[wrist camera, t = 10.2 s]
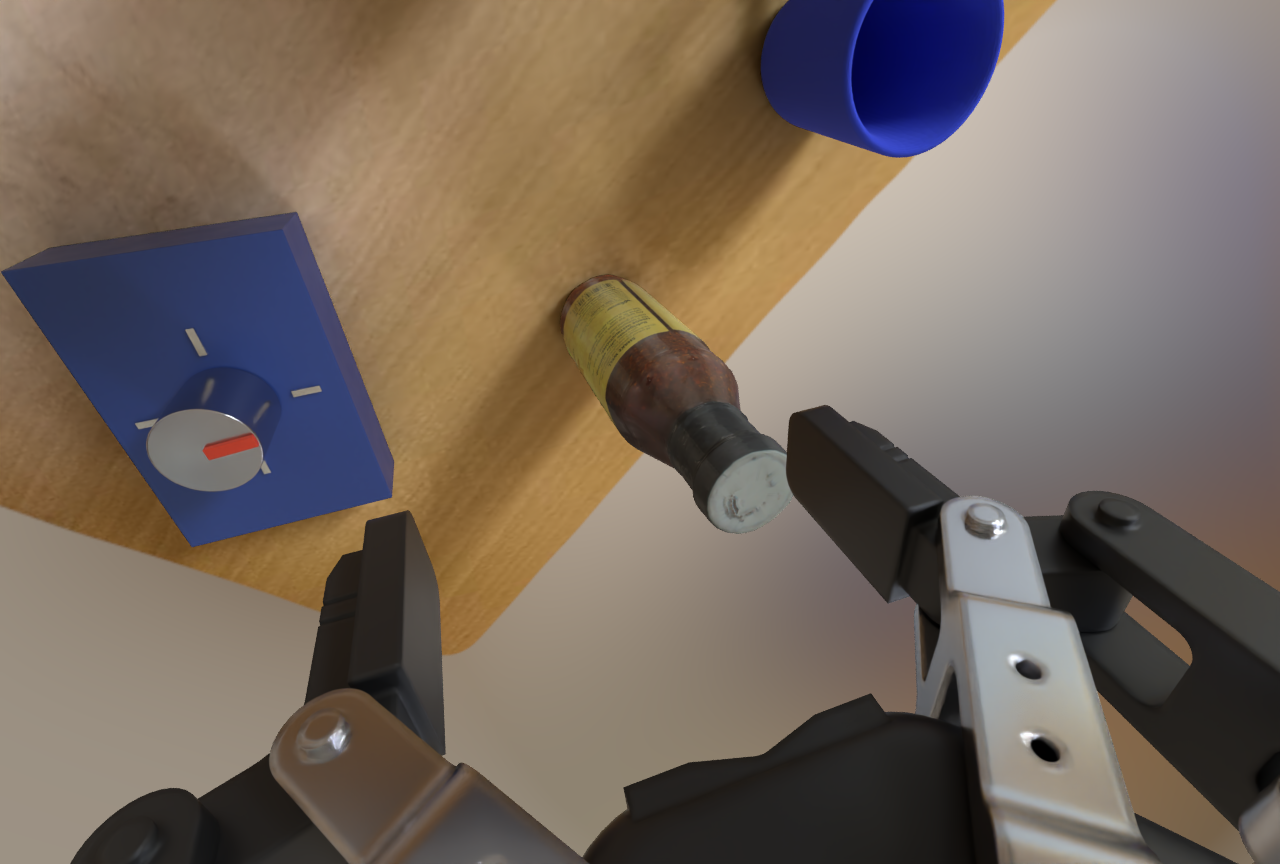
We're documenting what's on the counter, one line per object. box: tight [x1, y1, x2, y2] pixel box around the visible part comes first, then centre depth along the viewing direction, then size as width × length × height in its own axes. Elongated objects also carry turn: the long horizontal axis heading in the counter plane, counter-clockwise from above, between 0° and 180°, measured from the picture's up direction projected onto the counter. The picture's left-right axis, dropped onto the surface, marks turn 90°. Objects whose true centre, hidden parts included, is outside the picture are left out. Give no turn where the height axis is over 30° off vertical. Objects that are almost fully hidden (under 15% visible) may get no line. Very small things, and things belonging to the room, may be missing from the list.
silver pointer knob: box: [146, 367, 281, 492], centre depth 28 cm, size 4×4×5 cm
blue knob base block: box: [1, 212, 394, 547], centre depth 32 cm, size 16×11×4 cm
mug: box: [761, 0, 1004, 158], centre depth 29 cm, size 8×12×10 cm
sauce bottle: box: [560, 275, 793, 534], centre depth 30 cm, size 6×6×20 cm
